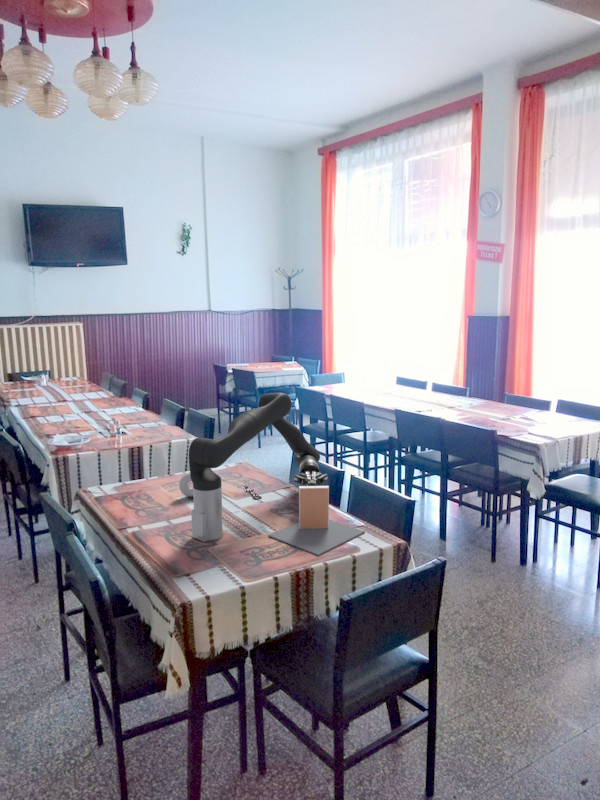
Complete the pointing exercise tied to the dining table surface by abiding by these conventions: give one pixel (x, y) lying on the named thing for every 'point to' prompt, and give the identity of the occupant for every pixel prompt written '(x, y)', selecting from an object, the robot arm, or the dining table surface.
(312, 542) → the mat
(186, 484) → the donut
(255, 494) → the throwing knife
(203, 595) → the dining table surface
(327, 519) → the tile
